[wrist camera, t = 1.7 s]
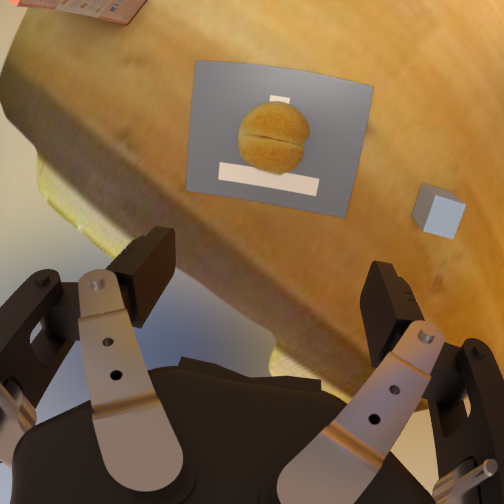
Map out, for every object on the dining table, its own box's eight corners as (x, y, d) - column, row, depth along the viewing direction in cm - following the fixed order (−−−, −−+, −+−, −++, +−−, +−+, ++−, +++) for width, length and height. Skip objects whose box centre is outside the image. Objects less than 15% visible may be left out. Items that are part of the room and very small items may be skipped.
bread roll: (315, 110, 34) (316, 112, 30) (295, 176, 38) (295, 186, 35) (248, 93, 34) (242, 93, 30) (233, 160, 38) (226, 167, 35)
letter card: (196, 60, 32) (195, 60, 32) (373, 87, 31) (374, 87, 31) (186, 190, 42) (185, 190, 41) (344, 217, 40) (344, 218, 40)
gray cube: (421, 182, 36) (435, 195, 32) (450, 191, 35) (466, 204, 31) (411, 215, 38) (422, 231, 34) (439, 223, 38) (453, 239, 34)
